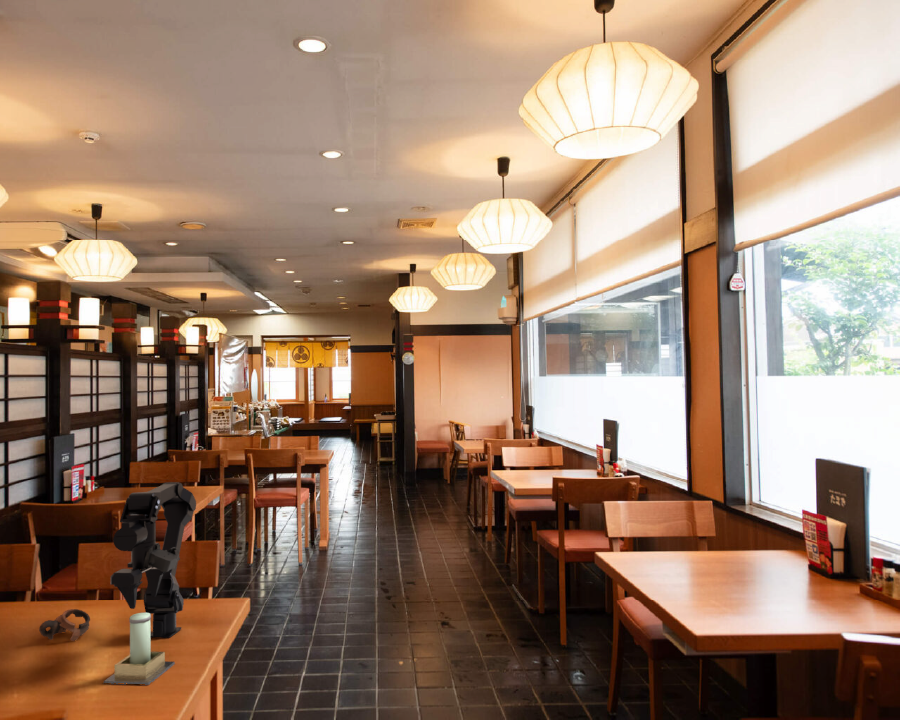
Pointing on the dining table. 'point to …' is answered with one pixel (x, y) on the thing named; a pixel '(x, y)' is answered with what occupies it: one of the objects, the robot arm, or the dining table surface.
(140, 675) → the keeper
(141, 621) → the pale green cylinder
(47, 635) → the dark double loop ring
